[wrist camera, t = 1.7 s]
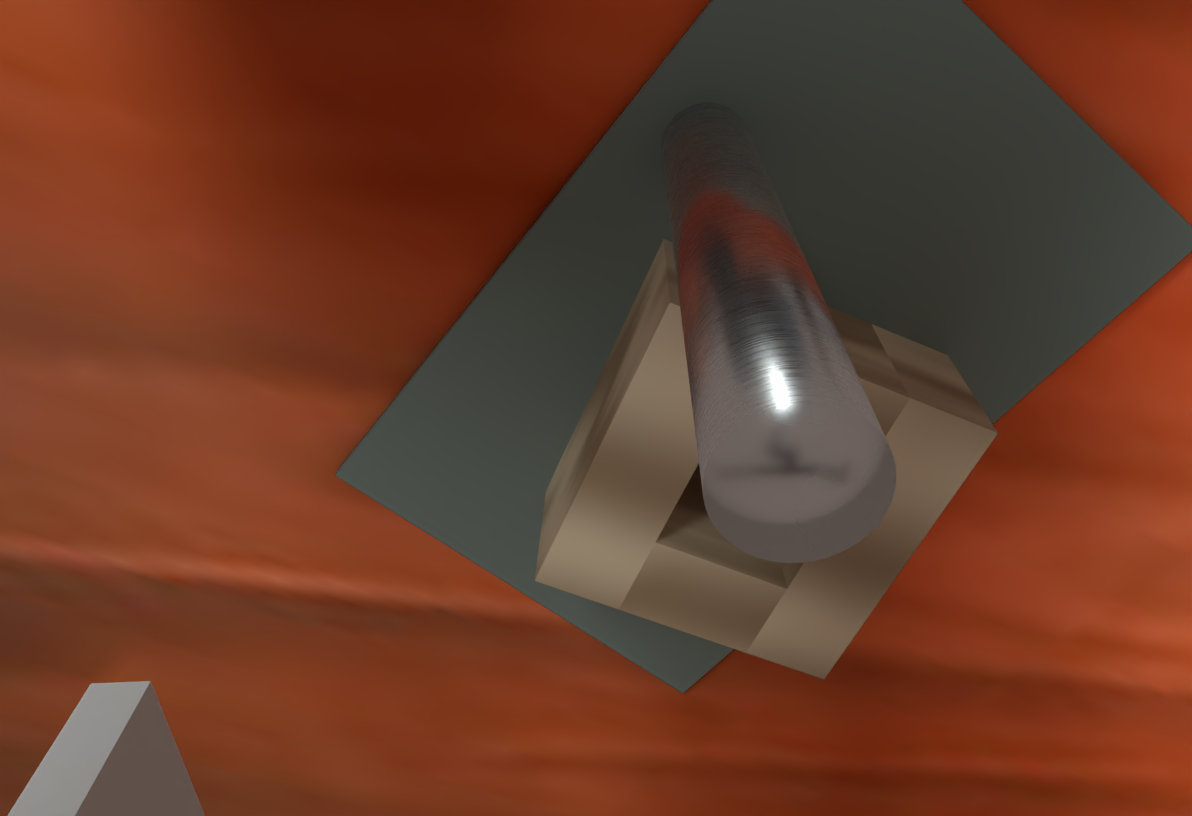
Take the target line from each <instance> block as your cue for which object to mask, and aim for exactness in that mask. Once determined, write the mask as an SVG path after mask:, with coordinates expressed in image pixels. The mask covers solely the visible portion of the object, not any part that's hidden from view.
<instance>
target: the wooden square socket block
mask: <svg viewBox="0 0 1192 816" xmlns="http://www.w3.org/2000/svg"><path fill="white" fill-rule="evenodd" d="M827 308H828V310H829V312H830V314H831V316H832V319H833V321H834V323H835V325H836V328H837V330H838V332H839V334H840V337H841V339H842V341H843V343H844V346H845V348H846V350H847V352H848V354H849V357H850V359H851V361H852V363H853V366H854V368H855V370H856V372H857V375H858V377H859V379H860V381H861V384H862V386H863V388H864V390H865V392H866V395H867V397H868V399H869V401H870V404H871V406H872V408H873V410H874V413H875V415H876V417H877V419H878V422H879V424H880V426H881V428H882V430H883V433H884V435H885V437H886V439H887V442H888V444H889V446H890V449H891V451H892V453H893V456H894V460H895V465H896V476H897V477H896V488H895V492H894V496H893V499H892V501H891V504H890V506H889V508H888V510H887V512H886V514H885V515H884V517H883V518H882V520H881V521H880V522H879V524H878V525H877V526H876V527H875V528H874V529H873V530H872V531H871V532H870V533H869V534H868V535H867V536H866V537H865V538H863V539H862V540H861V541H860V542H858V543H857V544H855V545H853V546H852V547H850V548H849V549H847V550H845V551H843V552H840V553H838V554H836V555H833V556H830V557H828V558H824V559H820V560H816V561H810V562H803V563H782V562H774V561H768V560H764V559H761V558H757V557H754V556H752V555H750V554H747V553H745V552H743V551H742V550H740V549H738V548H736V547H735V546H734V545H732V544H731V543H730V542H728V541H727V540H726V539H725V538H724V537H723V536H722V535H721V534H720V533H719V532H718V530H717V529H716V528H715V526H714V525H713V523H712V522H711V520H710V518H709V516H708V513H707V510H706V508H705V504H704V499H703V492H702V484H701V475H700V473H699V472H696V471H695V469H696V467H697V465H698V464H699V459H698V451H697V442H696V434H695V426H694V418H693V409H692V401H691V393H690V385H689V376H688V368H687V360H686V352H685V343H684V335H683V327H682V319H681V310H680V302H679V294H678V286H677V277H676V269H675V261H674V253H673V244H672V242H670V241H667V240H665V239H663V241H662V243H661V246H660V248H659V250H658V252H657V254H656V256H655V258H654V261H653V263H652V265H651V267H650V269H649V271H648V273H647V275H646V278H645V280H644V282H643V284H642V286H641V288H640V290H639V293H638V295H637V297H636V299H635V301H634V303H633V305H632V308H631V310H630V312H629V314H628V316H627V318H626V320H625V323H624V325H623V327H622V329H621V331H620V333H619V335H618V338H617V340H616V342H615V344H614V346H613V348H612V350H611V353H610V355H609V357H608V359H607V361H606V363H605V365H604V368H603V370H602V372H601V374H600V376H599V378H598V380H597V383H596V385H595V387H594V389H593V391H592V393H591V395H590V398H589V400H588V402H587V404H586V406H585V408H584V410H583V413H582V415H581V417H580V419H579V421H578V423H577V425H576V428H575V430H574V432H573V434H572V436H571V438H570V440H569V443H568V445H567V447H566V449H565V451H564V453H563V455H562V458H561V460H560V462H559V464H558V466H557V468H556V470H555V472H554V475H553V477H552V479H551V481H550V483H549V485H548V487H547V490H546V494H545V502H544V510H543V518H542V526H541V534H540V542H539V550H538V558H537V566H536V574H535V581H537V582H540V583H542V584H545V585H548V586H551V587H554V588H557V589H560V590H563V591H566V592H569V593H572V594H575V595H578V596H581V597H584V598H586V599H589V600H592V601H595V602H598V603H601V604H604V605H607V606H610V607H613V608H616V609H619V610H622V611H625V612H628V613H630V614H633V615H636V616H639V617H642V618H645V619H648V620H651V621H654V622H657V623H660V624H663V625H666V626H669V627H671V628H674V629H677V630H680V631H683V632H686V633H689V634H692V635H695V636H698V637H701V638H704V639H707V640H710V641H713V642H715V643H718V644H721V645H724V646H727V647H730V648H733V649H736V650H739V651H742V652H745V653H748V654H751V655H754V656H757V657H759V658H762V659H765V660H768V661H771V662H774V663H777V664H780V665H783V666H786V667H789V668H792V669H795V670H798V671H800V672H803V673H806V674H809V675H812V676H815V677H818V678H821V679H825V677H826V676H827V675H828V673H829V672H830V670H831V669H832V668H833V666H834V665H835V663H836V662H837V660H838V659H839V658H840V656H841V655H842V653H843V652H844V651H845V649H846V648H847V646H848V645H849V643H850V642H851V641H852V639H853V638H854V636H855V635H856V634H857V632H858V631H859V629H860V628H861V627H862V625H863V624H864V622H865V621H866V619H867V618H868V617H869V615H870V614H871V612H872V611H873V610H874V608H875V607H876V605H877V604H878V602H879V601H880V600H881V598H882V597H883V595H884V594H885V593H886V591H887V590H888V588H889V587H890V585H891V584H892V583H893V581H894V580H895V578H896V577H897V576H898V574H899V573H900V571H901V570H902V569H903V567H904V566H905V564H906V563H907V561H908V560H909V559H910V557H911V556H912V554H913V553H914V552H915V550H916V549H917V547H918V546H919V544H920V543H921V542H922V540H923V539H924V537H925V536H926V535H927V533H928V532H929V530H930V529H931V527H932V526H933V525H934V523H935V522H936V520H937V519H938V518H939V516H940V515H941V513H942V512H943V510H944V509H945V508H946V506H947V505H948V503H949V502H950V501H951V499H952V498H953V496H954V495H955V494H956V492H957V491H958V489H959V488H960V486H961V485H962V484H963V482H964V481H965V479H966V478H967V477H968V475H969V474H970V472H971V471H972V469H973V468H974V467H975V465H976V464H977V462H978V461H979V460H980V458H981V457H982V455H983V454H984V452H985V451H986V450H987V448H988V447H989V445H990V444H991V443H992V441H993V440H994V438H995V437H996V436H997V434H998V432H997V431H996V429H995V428H994V426H993V424H992V423H991V421H990V420H989V418H988V417H987V415H986V414H985V412H984V411H983V409H982V407H981V406H980V404H979V403H978V401H977V400H976V398H975V397H974V395H973V393H972V392H971V390H970V389H969V387H968V386H967V384H966V383H965V381H964V380H963V378H962V376H961V375H960V373H959V372H958V370H957V369H956V367H955V366H954V364H953V363H952V361H951V359H950V358H949V356H948V355H946V354H944V353H941V352H939V351H936V350H934V349H932V348H929V347H927V346H924V345H922V344H919V343H917V342H914V341H912V340H910V339H907V338H905V337H902V336H900V335H897V334H895V333H892V332H890V331H888V330H885V329H883V328H880V327H878V326H875V325H873V324H870V323H868V322H866V321H863V320H861V319H858V318H856V317H853V316H851V315H848V314H846V313H844V312H841V311H839V310H836V309H834V308H831V307H829V306H827Z"/></svg>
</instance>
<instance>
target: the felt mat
mask: <svg viewBox="0 0 1192 816" xmlns="http://www.w3.org/2000/svg"><path fill="white" fill-rule="evenodd" d="M700 103H716V104H721V105H723V106H726V107H728V108H730V109H731V110H733V111H734V112H736V113H737V114H738V115H739V116H740V117H741V119H742V120H743V121H744V123H745V125H746V127H747V129H748V131H749V133H750V135H751V138H752V140H753V142H754V144H755V147H756V149H757V151H758V153H759V156H760V158H761V160H762V162H763V165H764V167H765V169H766V171H767V173H768V176H769V178H770V180H771V182H772V185H773V187H774V189H775V191H776V194H777V196H778V198H779V200H780V203H781V205H782V207H783V209H784V211H785V214H786V216H787V218H788V220H789V223H790V225H791V227H792V229H793V232H794V234H795V236H796V238H797V241H798V243H799V245H800V247H801V249H802V252H803V254H804V256H805V258H806V261H807V263H808V265H809V267H810V270H811V272H812V274H813V276H814V279H815V281H816V283H817V285H818V287H819V290H820V292H821V294H822V296H823V299H824V301H825V303H826V305H827V306H829V307H831V308H834V309H836V310H839V311H841V312H844V313H846V314H848V315H851V316H853V317H856V318H858V319H861V320H863V321H866V322H868V323H870V324H873V325H875V326H878V327H880V328H883V329H885V330H888V331H890V332H892V333H895V334H897V335H900V336H902V337H905V338H907V339H910V340H912V341H914V342H917V343H919V344H922V345H924V346H927V347H929V348H932V349H934V350H936V351H939V352H941V353H944V354H946V355H948V356H949V358H950V359H951V361H952V363H953V364H954V366H955V367H956V369H957V370H958V372H959V373H960V375H961V376H962V378H963V380H964V381H965V383H966V384H967V386H968V387H969V389H970V390H971V392H972V393H973V395H974V397H975V398H976V400H977V401H978V403H979V404H980V406H981V407H982V409H983V411H984V412H985V414H986V415H987V417H988V418H989V420H990V421H991V423H992V424H993V423H995V422H996V421H997V420H998V419H999V418H1000V417H1002V416H1003V415H1004V414H1005V413H1006V412H1007V411H1008V410H1010V409H1011V408H1012V407H1013V406H1014V405H1015V404H1016V403H1018V402H1019V401H1020V400H1021V399H1022V398H1023V397H1025V396H1026V395H1027V394H1028V393H1029V392H1030V391H1031V390H1033V389H1034V388H1035V387H1036V386H1037V385H1038V384H1039V383H1041V382H1042V381H1043V380H1044V379H1045V378H1046V377H1048V376H1049V375H1050V374H1051V373H1052V372H1053V371H1054V370H1056V369H1057V368H1058V367H1059V366H1060V365H1061V364H1062V363H1064V362H1065V361H1066V360H1067V359H1068V358H1069V357H1071V356H1072V355H1073V354H1074V353H1075V352H1076V351H1077V350H1079V349H1080V348H1081V347H1082V346H1083V345H1084V344H1086V343H1087V342H1088V341H1089V340H1090V339H1091V338H1092V337H1094V336H1095V335H1096V334H1097V333H1098V332H1099V331H1100V330H1102V329H1103V328H1104V327H1105V326H1106V325H1107V324H1109V323H1110V322H1111V321H1112V320H1113V319H1114V318H1115V317H1117V316H1118V315H1119V314H1120V313H1121V312H1122V311H1123V310H1125V309H1126V308H1127V307H1128V306H1129V305H1130V304H1132V303H1133V302H1134V301H1135V300H1136V299H1137V298H1138V297H1140V296H1141V295H1142V294H1143V293H1144V292H1145V291H1147V290H1148V289H1149V288H1150V287H1151V286H1152V285H1153V284H1155V283H1156V282H1157V281H1158V280H1159V279H1160V278H1161V277H1163V276H1164V275H1165V274H1166V273H1167V272H1168V271H1170V270H1171V269H1172V268H1173V267H1174V266H1175V265H1176V264H1178V263H1179V262H1180V261H1181V260H1182V259H1183V258H1184V257H1186V256H1187V255H1188V254H1189V253H1190V252H1191V251H1192V226H1191V225H1190V224H1189V223H1188V222H1187V221H1186V220H1185V219H1184V218H1183V217H1182V216H1181V215H1180V214H1179V213H1178V212H1177V211H1176V210H1175V209H1174V208H1173V207H1171V206H1170V205H1169V204H1168V203H1167V202H1166V201H1165V200H1164V199H1163V198H1162V197H1161V196H1160V195H1159V194H1158V193H1157V192H1156V191H1155V190H1154V189H1153V188H1152V187H1151V186H1150V185H1149V184H1148V183H1147V182H1146V181H1145V180H1144V179H1143V178H1142V177H1141V176H1140V175H1139V174H1138V173H1137V172H1136V171H1135V170H1134V169H1133V168H1132V167H1131V166H1130V165H1129V164H1128V163H1127V162H1126V161H1125V160H1124V159H1123V158H1122V157H1121V156H1120V155H1118V154H1117V153H1116V152H1115V151H1114V150H1113V149H1112V148H1111V147H1110V146H1109V145H1108V144H1107V143H1106V142H1105V141H1104V140H1103V139H1102V138H1101V137H1100V136H1099V135H1098V134H1097V133H1096V132H1095V131H1094V130H1093V129H1092V128H1091V127H1090V126H1089V125H1088V124H1087V123H1086V122H1085V121H1084V120H1083V119H1082V118H1081V117H1080V116H1079V115H1078V114H1077V113H1076V112H1075V111H1074V110H1073V109H1072V108H1071V107H1070V106H1069V105H1068V104H1067V103H1065V102H1064V101H1063V100H1062V99H1061V98H1060V97H1059V96H1058V95H1057V94H1056V93H1055V92H1054V91H1053V90H1052V89H1051V88H1050V87H1049V86H1048V85H1047V84H1046V83H1045V82H1044V81H1043V80H1042V79H1041V78H1040V77H1039V76H1038V75H1037V74H1036V73H1035V72H1034V71H1033V70H1032V69H1031V68H1030V67H1029V66H1028V65H1027V64H1026V63H1025V62H1024V61H1023V60H1022V59H1021V58H1020V57H1019V56H1018V55H1017V54H1016V53H1015V52H1014V51H1012V50H1011V49H1010V48H1009V47H1008V46H1007V45H1006V44H1005V43H1004V42H1003V41H1002V40H1001V39H1000V38H999V37H998V36H997V35H996V34H995V33H994V32H993V31H992V30H991V29H990V28H989V27H988V26H987V25H986V24H985V23H984V22H983V21H982V20H981V19H980V18H979V17H978V16H977V15H976V14H975V13H974V12H973V11H972V10H971V9H970V8H969V7H968V6H967V5H966V4H965V3H964V2H963V1H962V0H711V1H710V3H709V4H708V5H707V6H706V8H705V9H704V10H703V11H702V13H701V14H700V15H699V16H698V18H697V19H696V20H695V21H694V23H693V24H692V25H691V26H690V28H689V29H688V30H687V31H686V33H685V34H684V35H683V36H682V38H681V39H680V40H679V42H678V43H677V44H676V45H675V47H674V48H673V49H672V50H671V52H670V53H669V54H668V55H667V57H666V58H665V59H664V60H663V62H662V63H661V64H660V65H659V67H658V68H657V69H656V70H655V72H654V73H653V74H652V75H651V77H650V78H649V79H648V80H647V82H646V83H645V84H644V85H643V87H642V88H641V89H640V91H639V92H638V93H637V94H636V96H635V97H634V98H633V99H632V101H631V102H630V103H629V104H628V106H627V107H626V108H625V109H624V111H623V112H622V113H621V114H620V116H619V117H618V118H617V119H616V121H615V122H614V123H613V124H612V126H611V127H610V128H609V129H608V131H607V132H606V133H605V135H604V136H603V137H602V138H601V140H600V141H599V142H598V143H597V145H596V146H595V147H594V148H593V150H592V151H591V152H590V153H589V155H588V156H587V157H586V158H585V160H584V161H583V162H582V163H581V165H580V166H579V167H578V168H577V170H576V171H575V172H574V173H573V175H572V176H571V177H570V178H569V180H568V181H567V182H566V184H565V185H564V186H563V187H562V189H561V190H560V191H559V192H558V194H557V195H556V196H555V197H554V199H553V200H552V201H551V202H550V204H549V205H548V206H547V207H546V209H545V210H544V211H543V212H542V214H541V215H540V216H539V217H538V219H537V220H536V221H535V222H534V224H533V225H532V226H531V228H530V229H529V230H528V231H527V233H526V234H525V235H524V236H523V238H522V239H521V240H520V241H519V243H518V244H517V245H516V246H515V248H514V249H513V250H512V251H511V253H510V254H509V255H508V256H507V258H506V259H505V260H504V261H503V263H502V264H501V265H500V266H499V268H498V269H497V270H496V271H495V273H494V274H493V275H492V277H491V278H490V279H489V280H488V282H487V283H486V284H485V285H484V287H483V288H482V289H481V290H480V292H479V293H478V294H477V295H476V297H475V298H474V299H473V300H472V302H471V303H470V304H469V305H468V307H467V308H466V309H465V310H464V312H463V313H462V314H461V315H460V317H459V318H458V319H457V321H456V322H455V323H454V324H453V326H452V327H451V328H450V329H449V331H448V332H447V333H446V334H445V336H444V337H443V338H442V339H441V341H440V342H439V343H438V344H437V346H436V347H435V348H434V349H433V351H432V352H431V353H430V354H429V356H428V357H427V358H426V359H425V361H424V362H423V363H422V365H421V366H420V367H419V368H418V370H417V371H416V372H415V373H414V375H413V376H412V377H411V378H410V380H409V381H408V382H407V383H406V385H405V386H404V387H403V388H402V390H401V391H400V392H399V393H398V395H397V396H396V397H395V398H394V400H393V401H392V402H391V403H390V405H389V406H388V407H387V408H386V410H385V411H384V412H383V414H382V415H381V416H380V417H379V419H378V420H377V421H376V422H375V424H374V425H373V426H372V427H371V429H370V430H369V431H368V432H367V434H366V435H365V436H364V437H363V439H362V440H361V441H360V442H359V444H358V445H357V446H356V447H355V449H354V450H353V451H352V452H351V454H350V455H349V456H348V458H347V459H346V460H345V461H344V463H343V464H342V465H341V466H340V468H339V469H338V471H337V473H336V475H335V476H337V477H339V478H340V479H342V480H343V481H345V482H346V483H348V484H350V485H351V486H353V487H354V488H356V489H358V490H359V491H361V492H362V493H364V494H366V495H367V496H369V497H370V498H372V499H374V500H375V501H377V502H378V503H380V504H382V505H383V506H385V507H386V508H388V509H390V510H391V511H393V512H394V513H396V514H398V515H399V516H401V517H402V518H404V519H406V520H407V521H409V522H410V523H412V524H413V525H415V526H417V527H418V528H420V529H421V530H423V531H425V532H426V533H428V534H429V535H431V536H433V537H434V538H436V539H437V540H439V541H441V542H442V543H444V544H445V545H447V546H449V547H450V548H452V549H453V550H455V551H457V552H458V553H460V554H461V555H463V556H465V557H466V558H468V559H469V560H471V561H472V562H474V563H476V564H477V565H479V566H480V567H482V568H484V569H485V570H487V571H488V572H490V573H492V574H493V575H495V576H496V577H498V578H500V579H501V580H503V581H504V582H506V583H508V584H509V585H511V586H512V587H514V588H516V589H517V590H519V591H520V592H522V593H524V594H525V595H527V596H528V597H530V598H532V599H533V600H535V601H536V602H538V603H539V604H541V605H543V606H544V607H546V608H547V609H549V610H551V611H552V612H554V613H555V614H557V615H559V616H560V617H562V618H563V619H565V620H567V621H568V622H570V623H571V624H573V625H575V626H576V627H578V628H579V629H581V630H583V631H584V632H586V633H587V634H589V635H591V636H592V637H594V638H595V639H597V640H599V641H600V642H602V643H603V644H605V645H606V646H608V647H610V648H611V649H613V650H614V651H616V652H618V653H619V654H621V655H622V656H624V657H626V658H627V659H629V660H630V661H632V662H634V663H635V664H637V665H638V666H640V667H642V668H643V669H645V670H646V671H648V672H650V673H651V674H653V675H654V676H656V677H658V678H659V679H661V680H662V681H664V682H666V683H667V684H669V685H670V686H672V687H673V688H675V689H677V690H678V691H680V692H681V693H684V692H685V691H686V690H687V689H688V688H690V687H691V686H692V685H693V684H694V683H695V682H697V681H698V680H699V679H700V678H701V677H702V676H703V675H705V674H706V673H707V672H708V671H709V670H710V669H712V668H713V667H714V666H715V665H716V664H717V663H718V662H720V661H721V660H722V659H723V658H724V657H725V656H726V655H728V654H729V653H730V652H731V651H732V650H733V648H730V647H727V646H724V645H721V644H718V643H715V642H713V641H710V640H707V639H704V638H701V637H698V636H695V635H692V634H689V633H686V632H683V631H680V630H677V629H674V628H671V627H669V626H666V625H663V624H660V623H657V622H654V621H651V620H648V619H645V618H642V617H639V616H636V615H633V614H630V613H628V612H625V611H622V610H619V609H616V608H613V607H610V606H607V605H604V604H601V603H598V602H595V601H592V600H589V599H586V598H584V597H581V596H578V595H575V594H572V593H569V592H566V591H563V590H560V589H557V588H554V587H551V586H548V585H545V584H542V583H540V582H537V581H535V574H536V566H537V558H538V550H539V542H540V534H541V526H542V518H543V510H544V502H545V494H546V490H547V487H548V485H549V483H550V481H551V479H552V477H553V475H554V472H555V470H556V468H557V466H558V464H559V462H560V460H561V458H562V455H563V453H564V451H565V449H566V447H567V445H568V443H569V440H570V438H571V436H572V434H573V432H574V430H575V428H576V425H577V423H578V421H579V419H580V417H581V415H582V413H583V410H584V408H585V406H586V404H587V402H588V400H589V398H590V395H591V393H592V391H593V389H594V387H595V385H596V383H597V380H598V378H599V376H600V374H601V372H602V370H603V368H604V365H605V363H606V361H607V359H608V357H609V355H610V353H611V350H612V348H613V346H614V344H615V342H616V340H617V338H618V335H619V333H620V331H621V329H622V327H623V325H624V323H625V320H626V318H627V316H628V314H629V312H630V310H631V308H632V305H633V303H634V301H635V299H636V297H637V295H638V293H639V290H640V288H641V286H642V284H643V282H644V280H645V278H646V275H647V273H648V271H649V269H650V267H651V265H652V263H653V261H654V258H655V256H656V254H657V252H658V250H659V248H660V246H661V243H662V241H663V239H665V240H667V241H670V242H672V236H671V228H670V220H669V211H668V203H667V195H666V187H665V178H664V170H663V162H662V153H661V146H662V139H663V136H664V133H665V130H666V128H667V127H668V125H669V123H670V122H671V121H672V119H673V118H674V117H675V116H676V115H677V114H679V113H680V112H681V111H683V110H684V109H686V108H688V107H690V106H693V105H696V104H700ZM695 471H696V472H699V473H700V467H699V464H698V465H697V467H696V469H695Z"/></svg>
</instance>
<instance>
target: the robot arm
mask: <svg viewBox="0 0 1192 816" xmlns="http://www.w3.org/2000/svg"><path fill="white" fill-rule="evenodd" d="M8 816H205V815H204V812H203V810H202V807H201V805H200V802H199V800H198V797H197V795H196V793H195V790H194V788H193V785H192V783H191V780H190V778H189V775H188V773H187V770H186V768H185V765H184V763H183V760H182V758H181V755H180V753H179V750H178V748H177V745H176V743H175V740H174V738H173V735H172V733H171V730H170V728H169V725H168V723H167V721H166V718H165V716H164V713H163V711H162V708H161V706H160V703H159V701H158V698H157V696H156V693H155V691H154V688H153V686H152V683H151V681H143V682H118V683H94V684H90V686H89V688H88V689H87V691H86V692H85V694H84V695H83V697H82V699H81V700H80V702H79V703H78V705H77V707H76V708H75V710H74V711H73V713H72V714H71V716H70V718H69V719H68V721H67V722H66V724H65V726H64V727H63V729H62V730H61V732H60V733H59V735H58V737H57V738H56V740H55V741H54V743H53V745H52V746H51V748H50V749H49V751H48V752H47V754H46V756H45V757H44V759H43V760H42V762H41V763H40V765H39V767H38V768H37V770H36V771H35V773H34V775H33V776H32V778H31V779H30V781H29V782H28V784H27V786H26V787H25V789H24V790H23V792H22V794H21V795H20V797H19V798H18V800H17V801H16V803H15V805H14V806H13V808H12V809H11V811H10V813H9V814H8Z"/></svg>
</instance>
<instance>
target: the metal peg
mask: <svg viewBox="0 0 1192 816" xmlns="http://www.w3.org/2000/svg"><path fill="white" fill-rule="evenodd" d="M661 153H662V162H663V170H664V178H665V187H666V195H667V203H668V211H669V220H670V228H671V236H672V244H673V253H674V261H675V269H676V277H677V286H678V294H679V302H680V310H681V319H682V327H683V335H684V343H685V352H686V360H687V368H688V376H689V385H690V393H691V401H692V409H693V418H694V426H695V434H696V442H697V451H698V459H699V467H700V475H701V484H702V492H703V499H704V504H705V508H706V510H707V513H708V516H709V518H710V520H711V522H712V523H713V525H714V526H715V528H716V529H717V530H718V532H719V533H720V534H721V535H722V536H723V537H724V538H725V539H726V540H727V541H728V542H730V543H731V544H732V545H734V546H735V547H736V548H738V549H740V550H742V551H743V552H745V553H747V554H750V555H752V556H754V557H757V558H761V559H764V560H768V561H774V562H782V563H803V562H810V561H816V560H820V559H824V558H828V557H830V556H833V555H836V554H838V553H840V552H843V551H845V550H847V549H849V548H850V547H852V546H853V545H855V544H857V543H858V542H860V541H861V540H862V539H863V538H865V537H866V536H867V535H868V534H869V533H870V532H871V531H872V530H873V529H874V528H875V527H876V526H877V525H878V524H879V522H880V521H881V520H882V518H883V517H884V515H885V514H886V512H887V510H888V508H889V506H890V504H891V501H892V499H893V496H894V492H895V488H896V477H897V476H896V465H895V460H894V456H893V453H892V451H891V449H890V446H889V444H888V442H887V439H886V437H885V435H884V433H883V430H882V428H881V426H880V424H879V422H878V419H877V417H876V415H875V413H874V410H873V408H872V406H871V404H870V401H869V399H868V397H867V395H866V392H865V390H864V388H863V386H862V384H861V381H860V379H859V377H858V375H857V372H856V370H855V368H854V366H853V363H852V361H851V359H850V357H849V354H848V352H847V350H846V348H845V346H844V343H843V341H842V339H841V337H840V334H839V332H838V330H837V328H836V325H835V323H834V321H833V319H832V316H831V314H830V312H829V310H828V308H827V305H826V303H825V301H824V299H823V296H822V294H821V292H820V290H819V287H818V285H817V283H816V281H815V279H814V276H813V274H812V272H811V270H810V267H809V265H808V263H807V261H806V258H805V256H804V254H803V252H802V249H801V247H800V245H799V243H798V241H797V238H796V236H795V234H794V232H793V229H792V227H791V225H790V223H789V220H788V218H787V216H786V214H785V211H784V209H783V207H782V205H781V203H780V200H779V198H778V196H777V194H776V191H775V189H774V187H773V185H772V182H771V180H770V178H769V176H768V173H767V171H766V169H765V167H764V165H763V162H762V160H761V158H760V156H759V153H758V151H757V149H756V147H755V144H754V142H753V140H752V138H751V135H750V133H749V131H748V129H747V127H746V125H745V123H744V121H743V120H742V119H741V117H740V116H739V115H738V114H737V113H736V112H734V111H733V110H731V109H730V108H728V107H726V106H723V105H721V104H716V103H700V104H696V105H693V106H690V107H688V108H686V109H684V110H683V111H681V112H680V113H679V114H677V115H676V116H675V117H674V118H673V119H672V121H671V122H670V123H669V125H668V127H667V128H666V130H665V133H664V136H663V139H662V146H661Z"/></svg>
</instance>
